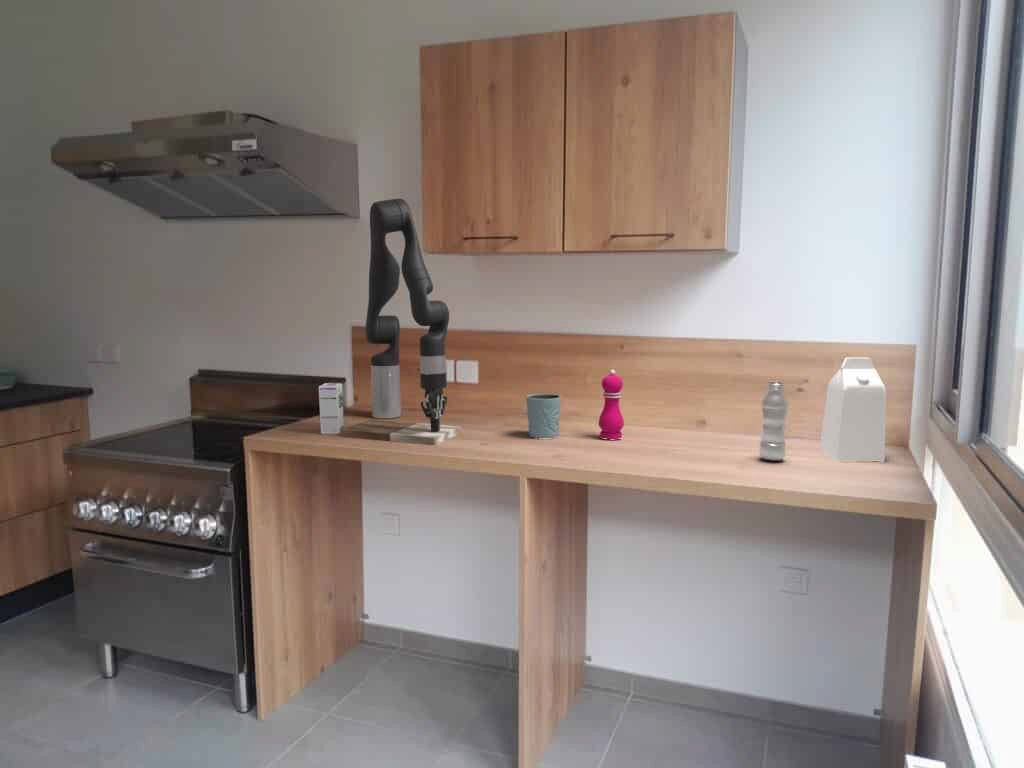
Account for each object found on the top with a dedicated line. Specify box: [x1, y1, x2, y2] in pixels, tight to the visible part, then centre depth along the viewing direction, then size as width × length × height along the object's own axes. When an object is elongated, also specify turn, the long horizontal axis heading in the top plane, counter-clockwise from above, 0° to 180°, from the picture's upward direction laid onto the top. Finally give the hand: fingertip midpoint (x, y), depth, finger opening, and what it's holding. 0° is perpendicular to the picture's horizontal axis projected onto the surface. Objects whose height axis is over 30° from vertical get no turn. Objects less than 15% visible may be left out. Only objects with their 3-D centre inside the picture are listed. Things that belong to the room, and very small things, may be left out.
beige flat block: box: [390, 422, 461, 446], centre depth 218 cm, size 17×14×2 cm
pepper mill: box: [598, 369, 625, 439], centre depth 216 cm, size 7×7×20 cm
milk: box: [819, 357, 887, 461], centre depth 195 cm, size 12×12×26 cm
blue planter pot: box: [525, 392, 562, 439], centre depth 219 cm, size 10×10×12 cm
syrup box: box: [318, 382, 345, 435], centre depth 223 cm, size 6×6×14 cm
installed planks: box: [340, 418, 417, 442], centre depth 223 cm, size 17×16×2 cm
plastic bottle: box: [758, 381, 790, 462], centre depth 191 cm, size 6×7×20 cm
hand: (435, 431), depth 216 cm, fingers closed
